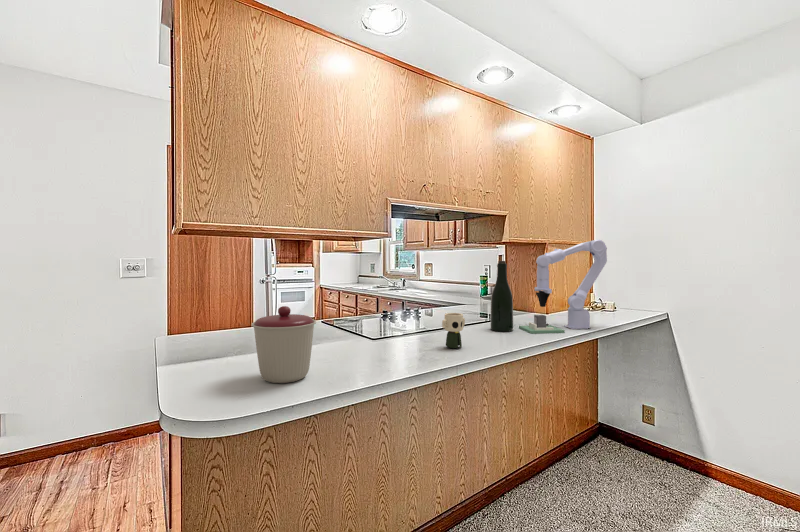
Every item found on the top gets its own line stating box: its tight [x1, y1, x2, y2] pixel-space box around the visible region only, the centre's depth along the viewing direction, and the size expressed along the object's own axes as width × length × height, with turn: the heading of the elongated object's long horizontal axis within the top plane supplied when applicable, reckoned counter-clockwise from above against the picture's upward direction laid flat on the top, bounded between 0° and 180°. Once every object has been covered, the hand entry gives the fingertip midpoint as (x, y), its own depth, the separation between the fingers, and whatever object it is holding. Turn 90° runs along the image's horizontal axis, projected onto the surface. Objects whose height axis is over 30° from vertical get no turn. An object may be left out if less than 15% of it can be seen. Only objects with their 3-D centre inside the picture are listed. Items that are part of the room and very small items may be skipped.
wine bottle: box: [489, 260, 514, 333], centre depth 194 cm, size 10×10×33 cm
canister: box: [251, 305, 317, 384], centre depth 119 cm, size 18×18×21 cm
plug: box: [533, 314, 549, 328], centre depth 191 cm, size 6×4×6 cm, turn 96°
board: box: [518, 322, 566, 335], centre depth 193 cm, size 16×14×4 cm
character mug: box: [441, 312, 466, 349], centre depth 158 cm, size 11×7×13 cm, turn 122°
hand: (542, 306), depth 204 cm, fingers closed
